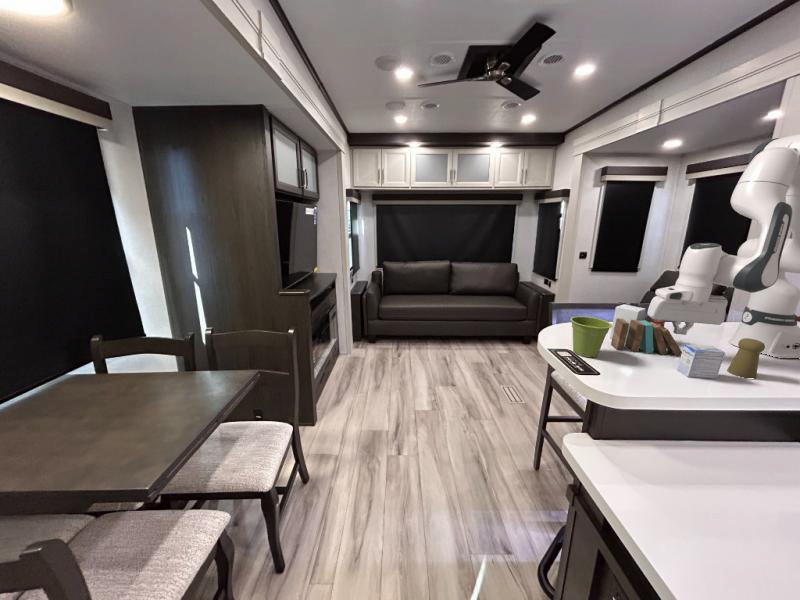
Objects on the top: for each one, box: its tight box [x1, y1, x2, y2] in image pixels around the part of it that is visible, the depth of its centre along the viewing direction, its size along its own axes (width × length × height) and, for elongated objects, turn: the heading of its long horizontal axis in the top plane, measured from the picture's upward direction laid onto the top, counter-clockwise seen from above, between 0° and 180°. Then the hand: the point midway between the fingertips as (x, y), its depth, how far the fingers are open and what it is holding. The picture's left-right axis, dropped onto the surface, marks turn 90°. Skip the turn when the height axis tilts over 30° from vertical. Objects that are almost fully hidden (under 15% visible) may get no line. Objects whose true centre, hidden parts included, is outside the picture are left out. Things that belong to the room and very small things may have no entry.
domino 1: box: [610, 318, 630, 352], centre depth 110 cm, size 2×5×10 cm, turn 167°
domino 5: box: [658, 324, 683, 357], centre depth 107 cm, size 2×5×10 cm
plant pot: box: [570, 315, 613, 358], centre depth 104 cm, size 12×12×11 cm
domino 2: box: [624, 320, 645, 353], centre depth 109 cm, size 2×5×10 cm, turn 167°
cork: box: [726, 338, 765, 379], centre depth 93 cm, size 6×6×11 cm
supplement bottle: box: [644, 315, 666, 327], centre depth 117 cm, size 6×6×11 cm
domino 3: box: [639, 319, 654, 354], centre depth 108 cm, size 2×5×10 cm, turn 167°
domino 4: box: [649, 322, 669, 356], centre depth 108 cm, size 2×5×10 cm, turn 166°
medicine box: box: [676, 344, 726, 379], centre depth 92 cm, size 8×4×9 cm, turn 84°
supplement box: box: [609, 303, 647, 343], centre depth 117 cm, size 7×7×13 cm
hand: (679, 333), depth 106 cm, fingers closed
